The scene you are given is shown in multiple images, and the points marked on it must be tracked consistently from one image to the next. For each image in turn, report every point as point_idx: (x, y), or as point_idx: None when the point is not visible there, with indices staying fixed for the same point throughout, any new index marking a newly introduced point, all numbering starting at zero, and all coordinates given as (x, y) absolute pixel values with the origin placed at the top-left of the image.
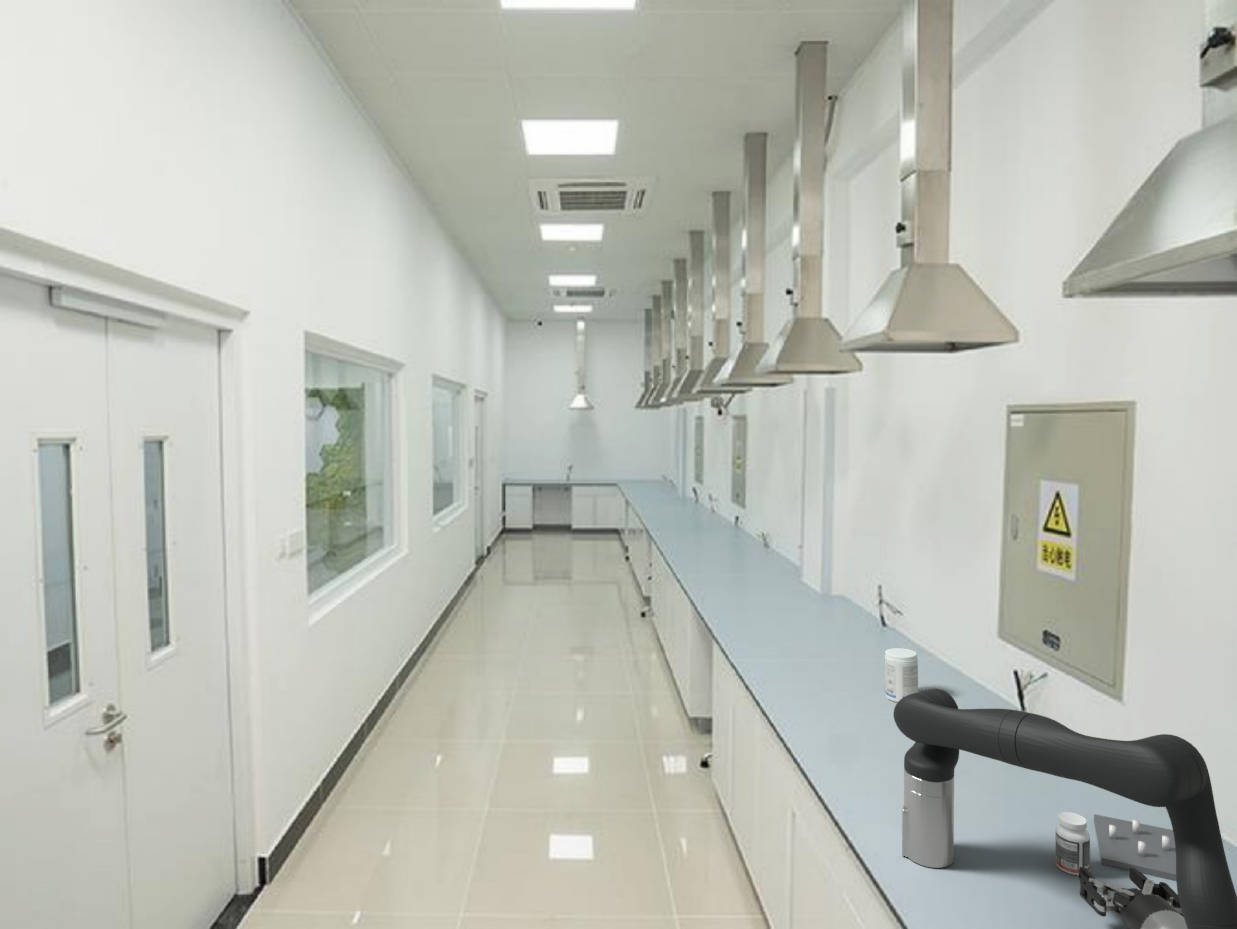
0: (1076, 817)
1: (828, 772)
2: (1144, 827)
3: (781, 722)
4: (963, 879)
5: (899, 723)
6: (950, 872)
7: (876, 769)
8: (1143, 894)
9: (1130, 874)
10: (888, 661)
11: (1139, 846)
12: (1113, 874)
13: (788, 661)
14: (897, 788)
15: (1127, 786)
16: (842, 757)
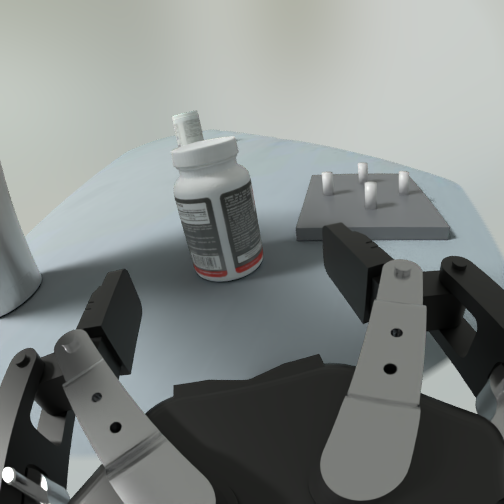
0: (214, 140)
1: (51, 218)
2: (374, 176)
3: (75, 191)
4: (4, 336)
5: None
6: (3, 323)
7: (97, 201)
8: (330, 486)
9: (326, 253)
10: (173, 122)
11: (367, 191)
12: (314, 258)
13: (137, 157)
14: (92, 213)
15: None
16: (82, 201)
